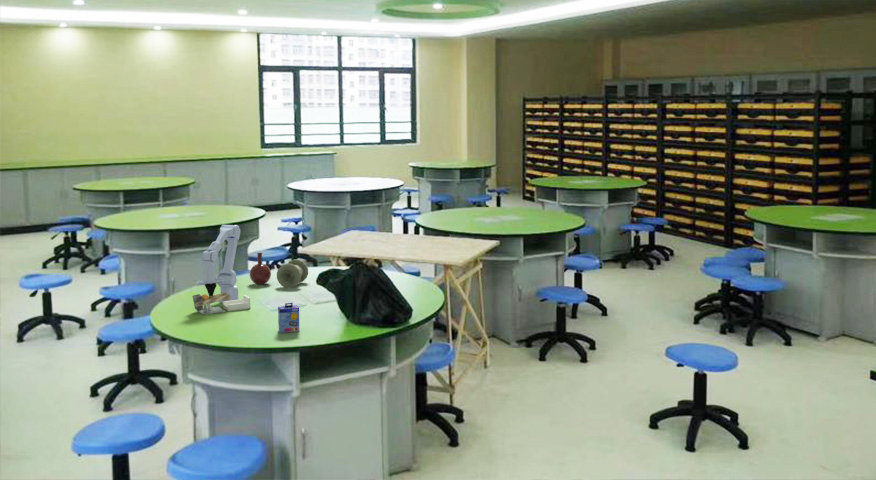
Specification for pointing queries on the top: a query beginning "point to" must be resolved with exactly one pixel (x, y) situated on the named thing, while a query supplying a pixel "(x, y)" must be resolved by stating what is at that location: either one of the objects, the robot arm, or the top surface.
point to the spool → (292, 273)
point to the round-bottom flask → (260, 272)
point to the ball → (205, 297)
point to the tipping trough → (212, 299)
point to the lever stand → (211, 310)
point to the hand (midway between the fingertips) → (210, 297)
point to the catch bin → (237, 304)
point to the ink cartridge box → (288, 318)
